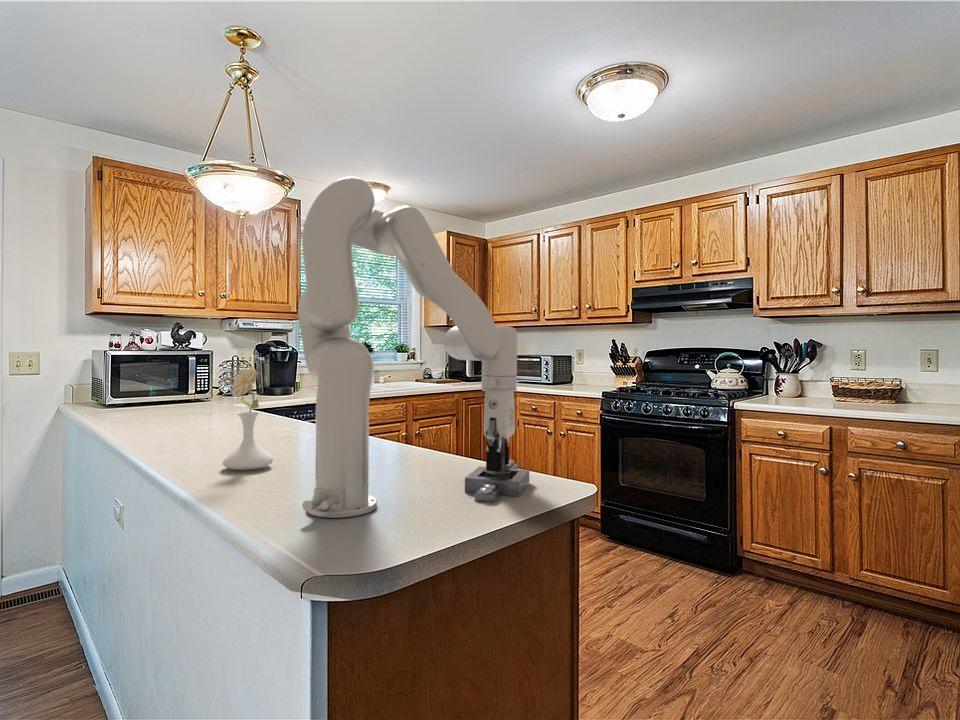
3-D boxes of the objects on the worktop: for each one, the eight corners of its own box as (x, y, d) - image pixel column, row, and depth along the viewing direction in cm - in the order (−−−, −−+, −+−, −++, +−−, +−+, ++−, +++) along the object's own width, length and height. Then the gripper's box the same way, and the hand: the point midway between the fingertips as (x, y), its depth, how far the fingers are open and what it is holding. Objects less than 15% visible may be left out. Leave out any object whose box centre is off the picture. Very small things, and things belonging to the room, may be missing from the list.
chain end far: (519, 496, 108) (519, 478, 108) (464, 492, 111) (464, 474, 111) (533, 477, 125) (533, 461, 125) (485, 473, 128) (486, 458, 128)
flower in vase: (219, 466, 133) (219, 365, 132) (268, 461, 139) (268, 365, 138) (226, 477, 122) (227, 367, 121) (279, 471, 128) (279, 367, 127)
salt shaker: (478, 486, 115) (478, 431, 115) (497, 482, 119) (498, 428, 119) (496, 492, 111) (497, 434, 111) (516, 487, 115) (517, 432, 115)
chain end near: (513, 504, 102) (513, 492, 102) (456, 499, 106) (456, 487, 105) (529, 483, 119) (529, 473, 119) (479, 479, 122) (479, 469, 122)
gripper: (507, 387, 105) (506, 477, 106) (523, 382, 122) (522, 460, 122) (470, 385, 107) (469, 475, 108) (491, 381, 124) (490, 458, 124)
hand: (497, 466), depth 115 cm, fingers open, 6 cm apart
